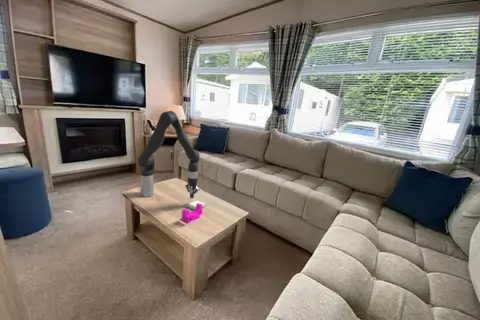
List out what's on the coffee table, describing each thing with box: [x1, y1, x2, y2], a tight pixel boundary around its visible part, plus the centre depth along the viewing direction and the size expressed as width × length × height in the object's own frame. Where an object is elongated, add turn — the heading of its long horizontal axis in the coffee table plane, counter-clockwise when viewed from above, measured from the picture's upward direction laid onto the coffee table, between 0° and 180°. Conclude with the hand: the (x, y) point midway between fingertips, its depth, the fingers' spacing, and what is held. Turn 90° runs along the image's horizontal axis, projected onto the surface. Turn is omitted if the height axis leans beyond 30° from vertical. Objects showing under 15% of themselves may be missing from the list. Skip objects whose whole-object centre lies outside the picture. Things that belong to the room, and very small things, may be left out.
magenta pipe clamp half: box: [181, 203, 203, 224], centre depth 149 cm, size 15×6×8 cm, turn 144°
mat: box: [182, 202, 207, 211], centre depth 166 cm, size 14×12×1 cm
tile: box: [189, 200, 206, 209], centre depth 165 cm, size 2×9×8 cm
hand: (191, 197), depth 166 cm, fingers closed
